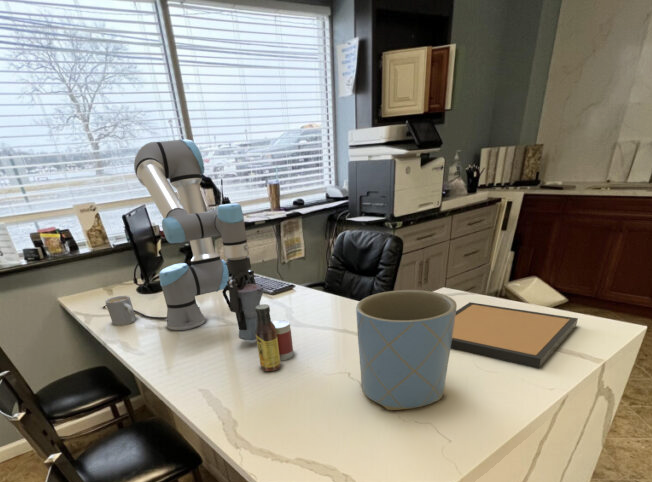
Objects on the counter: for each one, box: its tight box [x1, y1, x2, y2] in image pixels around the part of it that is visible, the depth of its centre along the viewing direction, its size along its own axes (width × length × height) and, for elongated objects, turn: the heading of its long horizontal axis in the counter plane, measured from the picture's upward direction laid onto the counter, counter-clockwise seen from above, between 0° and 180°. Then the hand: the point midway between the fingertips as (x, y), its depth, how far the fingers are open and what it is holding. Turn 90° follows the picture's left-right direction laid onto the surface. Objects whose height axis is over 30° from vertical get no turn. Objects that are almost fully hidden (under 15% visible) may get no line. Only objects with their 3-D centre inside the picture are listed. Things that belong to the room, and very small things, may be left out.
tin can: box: [271, 319, 294, 361], centre depth 130 cm, size 7×7×11 cm
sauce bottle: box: [255, 303, 281, 372], centre depth 121 cm, size 6×6×20 cm
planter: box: [355, 289, 458, 411], centre depth 101 cm, size 23×23×24 cm
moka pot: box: [221, 279, 266, 342], centre depth 139 cm, size 10×15×20 cm, turn 79°
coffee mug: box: [105, 295, 137, 326], centre depth 176 cm, size 13×10×10 cm
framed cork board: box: [450, 301, 579, 369], centre depth 132 cm, size 36×3×35 cm
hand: (248, 324), depth 142 cm, fingers closed on moka pot, 8 cm apart
